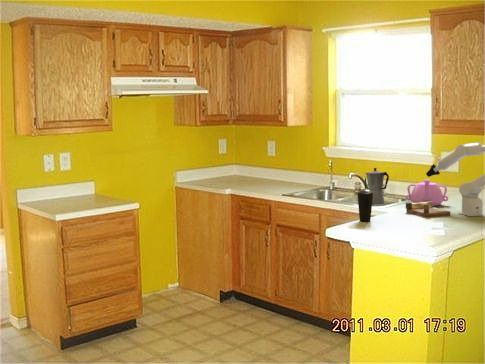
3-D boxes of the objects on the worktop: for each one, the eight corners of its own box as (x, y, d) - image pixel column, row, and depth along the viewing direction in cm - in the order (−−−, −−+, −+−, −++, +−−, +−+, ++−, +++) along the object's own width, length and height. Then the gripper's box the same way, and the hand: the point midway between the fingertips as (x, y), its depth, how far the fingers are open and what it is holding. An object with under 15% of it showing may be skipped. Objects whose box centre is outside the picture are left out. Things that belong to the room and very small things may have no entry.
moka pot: (369, 201, 334) (370, 166, 332) (393, 204, 323) (394, 168, 321) (360, 203, 328) (360, 167, 325) (384, 206, 317) (384, 169, 314)
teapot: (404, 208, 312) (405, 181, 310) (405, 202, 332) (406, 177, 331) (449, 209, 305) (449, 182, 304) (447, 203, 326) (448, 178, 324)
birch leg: (430, 206, 302) (430, 200, 302) (433, 207, 299) (433, 201, 299) (404, 208, 297) (404, 202, 297) (407, 209, 295) (407, 203, 294)
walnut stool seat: (450, 215, 287) (450, 203, 286) (425, 217, 283) (425, 205, 282) (430, 210, 302) (430, 199, 301) (406, 212, 298) (406, 200, 297)
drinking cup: (376, 220, 276) (377, 178, 273) (367, 223, 270) (368, 179, 268) (362, 219, 281) (362, 177, 279) (353, 221, 275) (353, 178, 273)
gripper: (451, 148, 302) (432, 161, 312) (438, 158, 293) (419, 171, 303) (460, 159, 301) (440, 172, 311) (447, 169, 292) (427, 182, 302)
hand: (430, 172), depth 307 cm, fingers open, 7 cm apart
